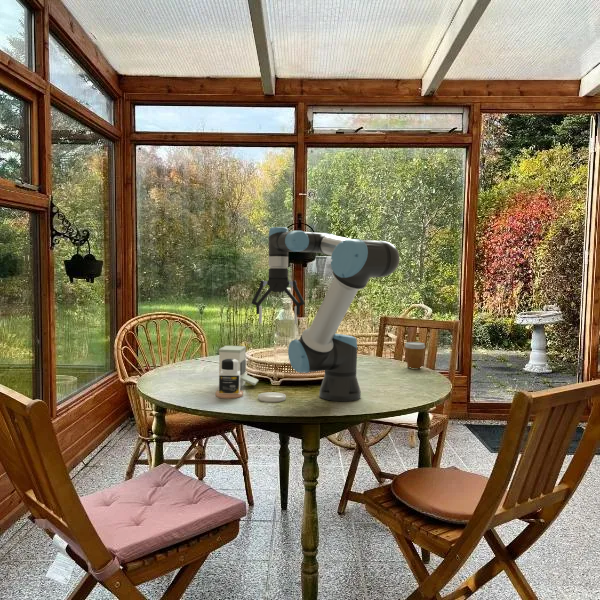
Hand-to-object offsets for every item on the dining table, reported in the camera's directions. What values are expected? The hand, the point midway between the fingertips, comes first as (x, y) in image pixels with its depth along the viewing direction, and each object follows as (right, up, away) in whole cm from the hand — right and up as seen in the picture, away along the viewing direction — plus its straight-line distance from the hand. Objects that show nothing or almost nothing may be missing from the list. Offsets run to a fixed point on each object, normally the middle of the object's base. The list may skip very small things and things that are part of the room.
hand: (278, 323), depth 214 cm
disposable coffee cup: (+63, -24, +51) cm, 84 cm away
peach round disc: (-17, -26, -11) cm, 33 cm away
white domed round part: (-2, -27, -15) cm, 30 cm away
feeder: (-15, -25, +5) cm, 30 cm away
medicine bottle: (-17, -25, -11) cm, 32 cm away
